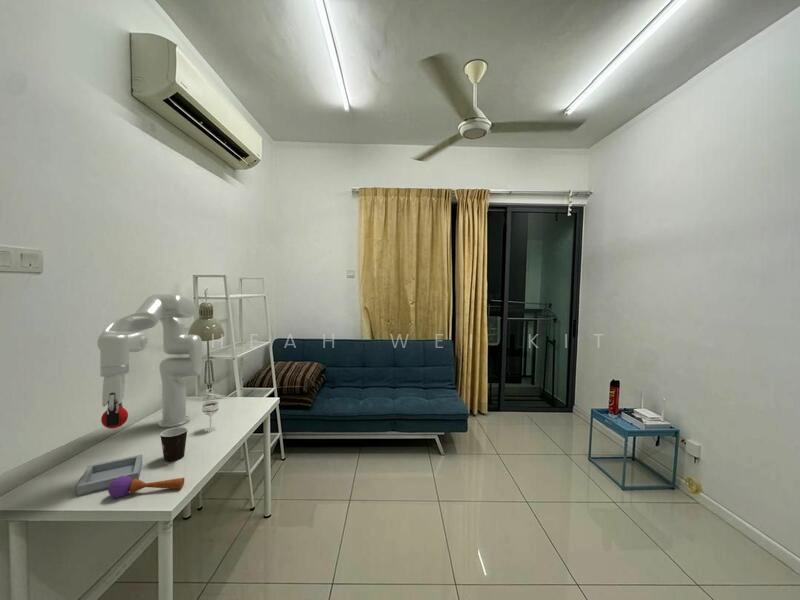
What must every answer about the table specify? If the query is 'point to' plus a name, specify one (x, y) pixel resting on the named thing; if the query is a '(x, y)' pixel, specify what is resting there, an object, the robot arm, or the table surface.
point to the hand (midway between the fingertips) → (114, 421)
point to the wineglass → (210, 411)
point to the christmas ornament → (122, 417)
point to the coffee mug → (173, 443)
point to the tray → (108, 474)
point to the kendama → (139, 485)
